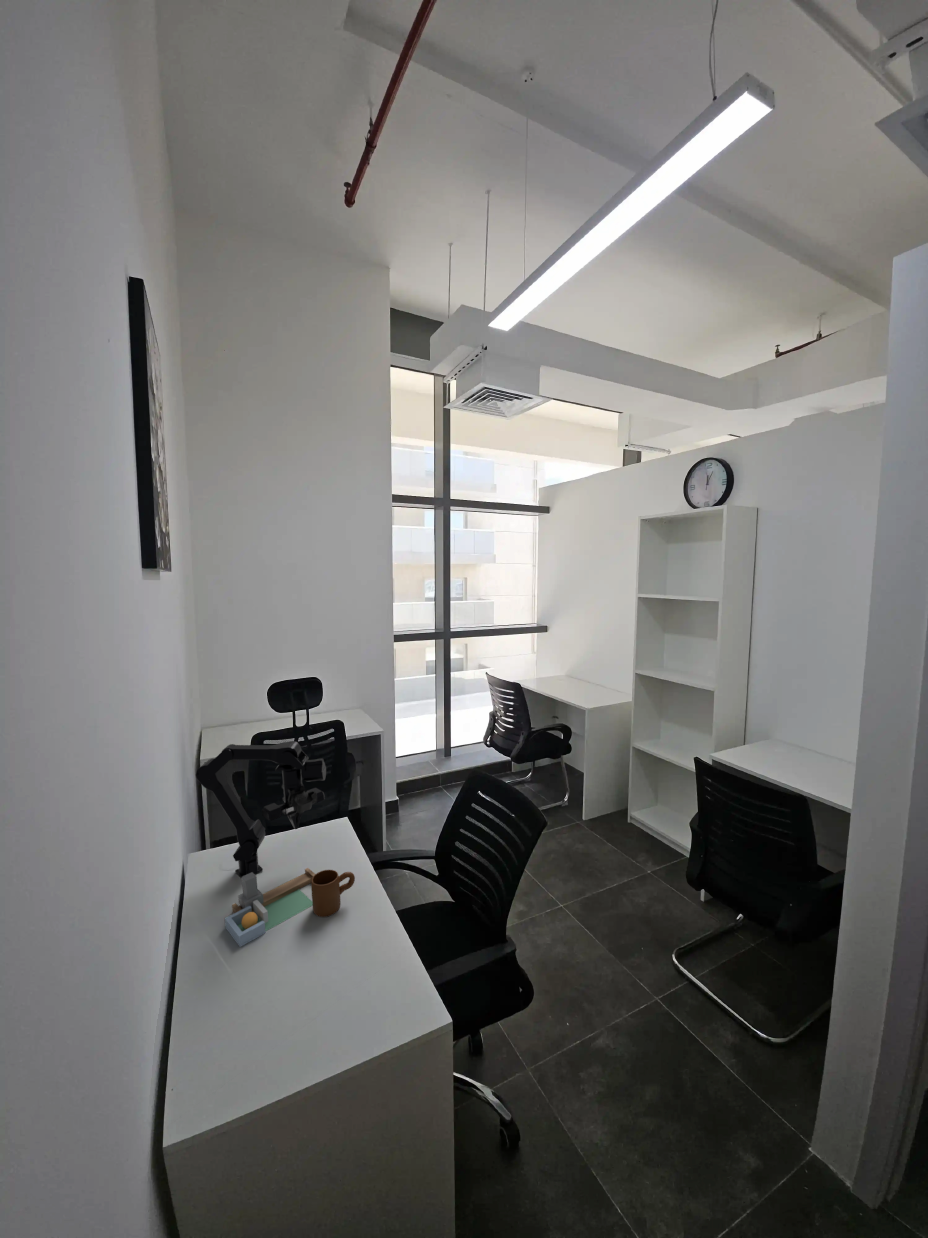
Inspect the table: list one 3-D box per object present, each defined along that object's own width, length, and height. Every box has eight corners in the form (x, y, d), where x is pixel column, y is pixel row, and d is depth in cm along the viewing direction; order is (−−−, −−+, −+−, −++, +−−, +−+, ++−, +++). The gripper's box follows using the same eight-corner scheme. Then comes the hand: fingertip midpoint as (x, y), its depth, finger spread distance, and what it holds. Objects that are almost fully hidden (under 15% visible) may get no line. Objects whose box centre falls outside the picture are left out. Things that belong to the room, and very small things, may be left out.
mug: (354, 892, 143) (352, 862, 142) (358, 908, 136) (356, 877, 135) (311, 904, 139) (309, 873, 138) (314, 921, 132) (312, 889, 131)
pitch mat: (225, 927, 131) (225, 926, 131) (298, 889, 146) (298, 889, 146) (239, 946, 124) (239, 945, 124) (315, 904, 139) (315, 904, 139)
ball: (236, 922, 129) (246, 907, 131) (247, 927, 131) (257, 912, 133) (241, 929, 126) (252, 914, 128) (253, 934, 129) (263, 919, 130)
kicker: (239, 906, 138) (236, 877, 137) (256, 897, 141) (254, 869, 140) (256, 927, 129) (254, 896, 128) (275, 917, 132) (272, 887, 132)
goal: (225, 928, 130) (224, 918, 130) (250, 915, 135) (249, 905, 135) (240, 947, 123) (239, 936, 123) (265, 933, 128) (264, 922, 128)
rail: (232, 913, 136) (231, 905, 136) (308, 875, 153) (307, 867, 152) (239, 921, 133) (238, 913, 133) (316, 881, 149) (315, 874, 149)
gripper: (275, 800, 142) (279, 850, 144) (331, 779, 156) (334, 825, 157) (259, 789, 150) (263, 837, 152) (314, 770, 163) (317, 814, 165)
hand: (296, 828), depth 156 cm, fingers closed
